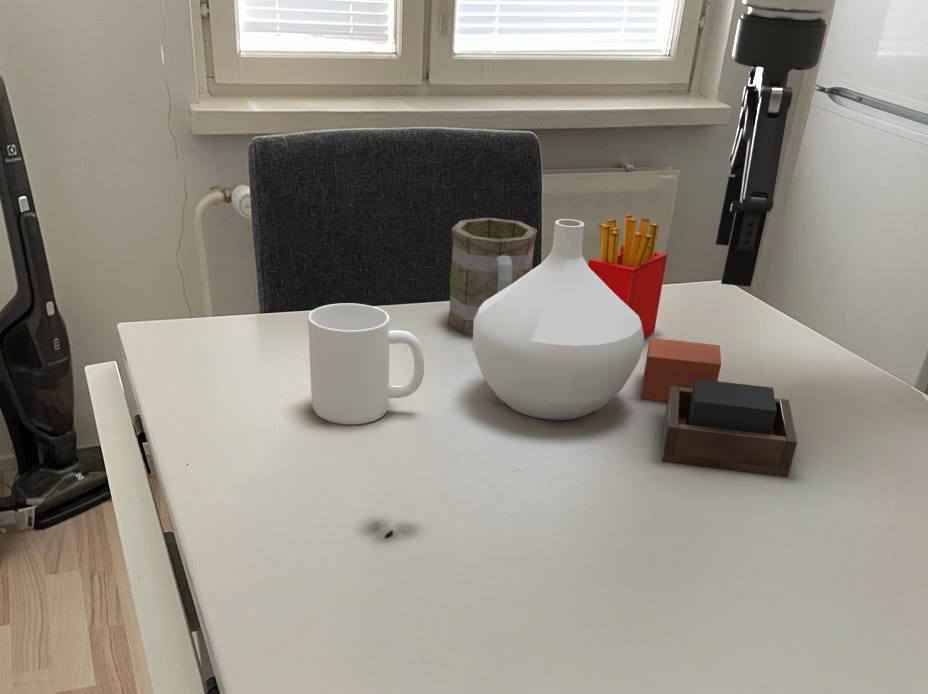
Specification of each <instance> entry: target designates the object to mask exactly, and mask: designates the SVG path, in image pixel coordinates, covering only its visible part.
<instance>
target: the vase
mask: <svg viewBox="0 0 928 694" xmlns="http://www.w3.org/2000/svg"><path fill="white" fill-rule="evenodd" d="M584 231H585V222H584V221H581V220H577V219H572V218H561V219H556V220H555V221H554V230H553V238H552V239H553V240H552V246H551V250H550V253H549V254H548V255H547V257H546V258H545V259H544V260H543V261H542V262H540V264H538V265H537V266H536V267H534V268H533V270H531V271H530V272H528V273H527V274H526V275H524V276H523V277H521V278H520V279H518V280H517V281H516V282H514V283H513V284H511V285H509V286H508V287H506V288H505V289H503V290H502V291H500V292H498V293H497V294H495V295H494V296H492V297H491V298H489V299H487V300H486V301H484V303H483V304H482V305H481V306H480V307H479V309H478V312H477V314H476V316H475V318H474V324H473V337H472V349H473V352H474V355H475V358H476V361H477V364H478V368H479V370H480V373H481V375H482V376H483V378H484V380H485V381H486V383H487V384H488V385H489V387H490V388H491V389H492V391H493V393H494V394H495V395H496V397H498V398H499V399H500V400H501V401H502V402H504V403H505V404H506V405H507V406H508V407H510V408H511V409H513V410H514V411H516V412H518V413H520V414H523V415H526V416H529V417H532V418H536V419H543V420H552V421H553V420H554V421H563V420H573V419H578V418H582V417H585V416H587V415H590V414H591V413H593V412H595V411H597V410H600V409H601V408H602V407H603V406H605V405H606V404H607V403H609V402H610V401H611V400H612V399H613V398H614V397H615V396H616V395H617V394H618V393H620V392H621V391H622V389H623V388H624V387H625V385H626V384H627V382H628V380H629V378H631V375H632V374H633V372H634V370H635V369H636V367H637V365H638V364H639V362H640V359H641V357H642V350H643V345H644V340H645V338H644V334H643V329H642V324H641V321H640V318H639V316H638V315H637V314H636V313H635V312H634V311H633V310H632V309H631V308H630V307H628V306H627V305H626V304H625V303H624V302H623V301H622V300H621V299H620V298H619V297H618V296H617V295H616V294H615V293H614V292H613V291H612V290H611V289H610V288H609V287H608V286H607V285H606V284H605V283H604V282H603V281H602V280H601V279H600V278H599V277H598V276H597V275H596V274H595V273H594V272H593V271H592V270H591V269H590V268H589V267H588V263H587V262H586V260H585V259H584V256H583V251H582V248H583V240H584V239H583V238H584V233H585V232H584Z"/></svg>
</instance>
